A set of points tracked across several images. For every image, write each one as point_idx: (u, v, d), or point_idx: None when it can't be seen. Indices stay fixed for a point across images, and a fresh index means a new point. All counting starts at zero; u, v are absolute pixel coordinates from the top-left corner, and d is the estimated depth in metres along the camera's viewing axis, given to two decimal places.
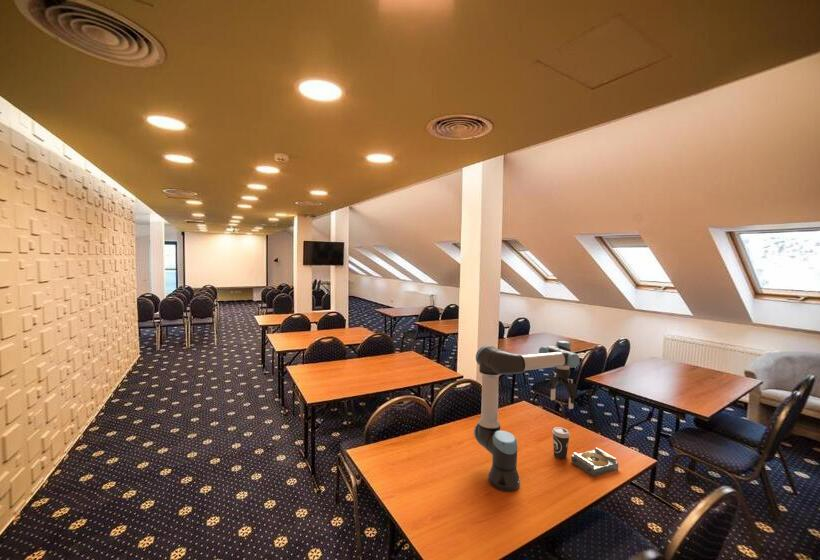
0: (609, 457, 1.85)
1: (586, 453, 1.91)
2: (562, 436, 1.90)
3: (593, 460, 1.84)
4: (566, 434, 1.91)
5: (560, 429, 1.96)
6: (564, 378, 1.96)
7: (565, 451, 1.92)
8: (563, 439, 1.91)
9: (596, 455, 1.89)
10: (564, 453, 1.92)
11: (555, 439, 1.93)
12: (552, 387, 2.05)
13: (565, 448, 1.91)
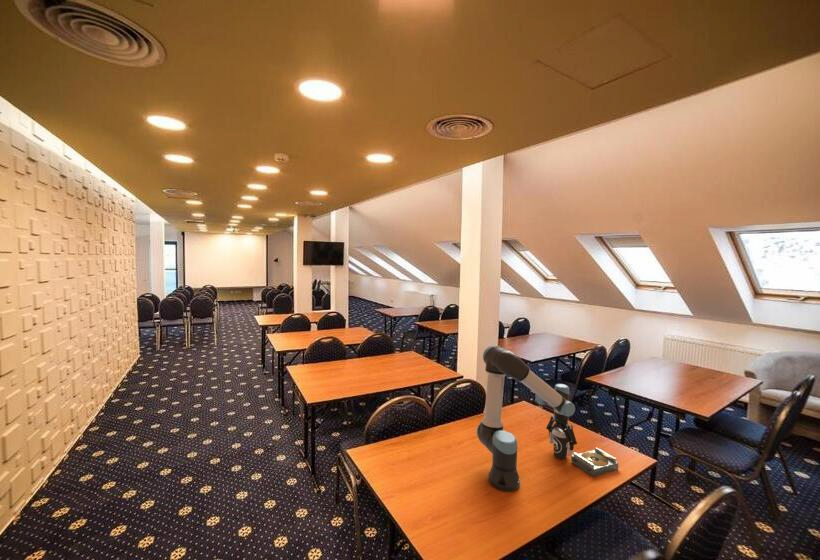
0: (609, 457, 1.85)
1: (586, 453, 1.91)
2: (562, 436, 1.90)
3: (593, 460, 1.84)
4: None
5: (560, 429, 1.96)
6: (563, 423, 1.92)
7: (565, 451, 1.92)
8: (563, 439, 1.91)
9: (596, 455, 1.89)
10: (564, 453, 1.92)
11: (555, 439, 1.93)
12: (551, 430, 2.01)
13: (565, 448, 1.91)
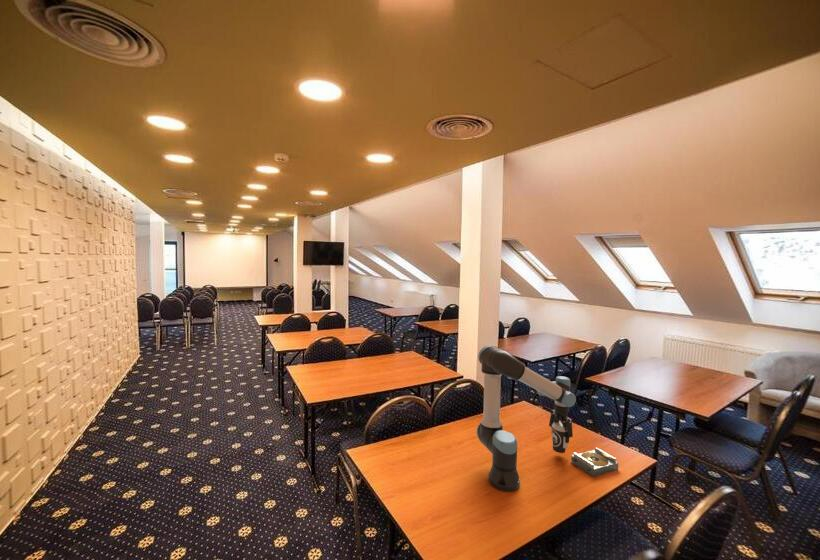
0: (609, 457, 1.85)
1: (586, 453, 1.91)
2: (562, 430, 1.90)
3: (593, 460, 1.84)
4: None
5: (560, 423, 1.96)
6: (563, 415, 1.91)
7: None
8: (563, 433, 1.90)
9: (596, 455, 1.89)
10: None
11: (555, 433, 1.93)
12: None
13: None
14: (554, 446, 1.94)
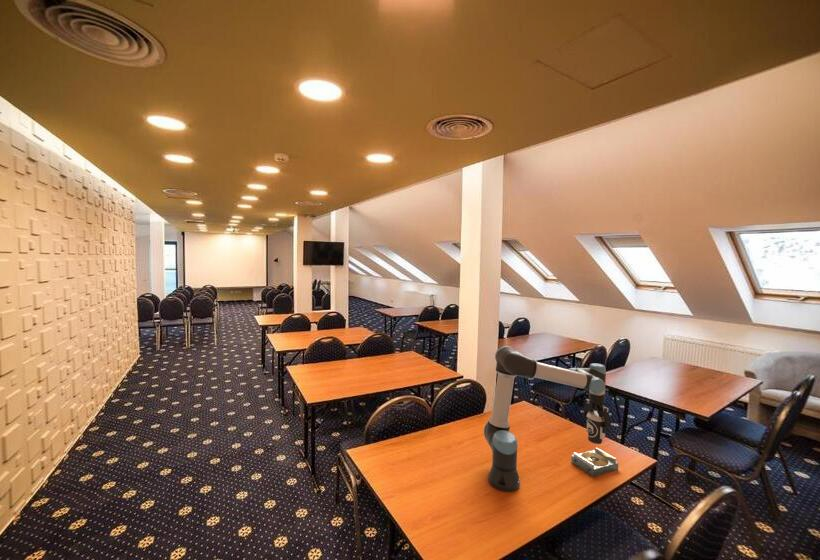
0: (609, 457, 1.85)
1: (586, 453, 1.91)
2: (599, 420, 1.80)
3: (593, 460, 1.84)
4: None
5: (595, 413, 1.86)
6: (599, 404, 1.81)
7: None
8: (600, 423, 1.80)
9: (596, 455, 1.89)
10: None
11: (590, 423, 1.83)
12: None
13: None
14: (590, 437, 1.84)
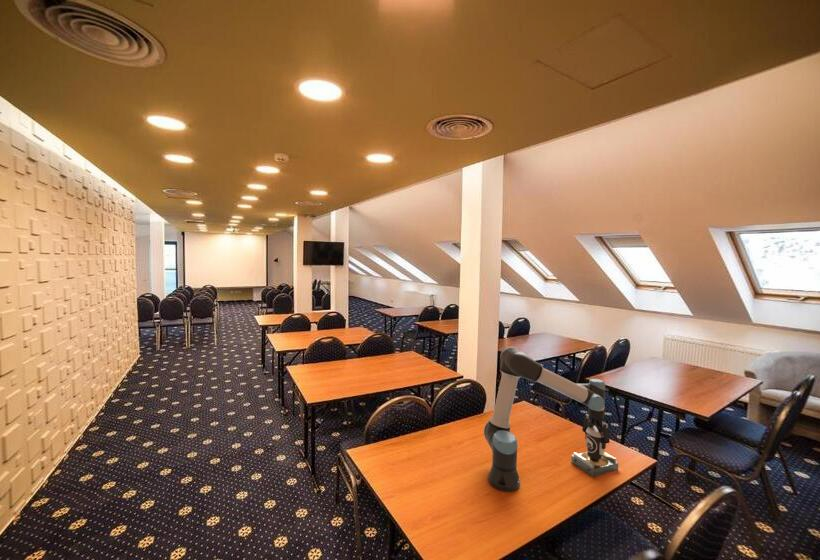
0: (609, 457, 1.85)
1: (586, 453, 1.91)
2: (598, 435, 1.81)
3: (593, 460, 1.84)
4: (602, 433, 1.81)
5: (595, 428, 1.86)
6: (598, 420, 1.82)
7: None
8: (599, 439, 1.81)
9: None
10: None
11: (590, 438, 1.83)
12: None
13: None
14: (589, 452, 1.84)
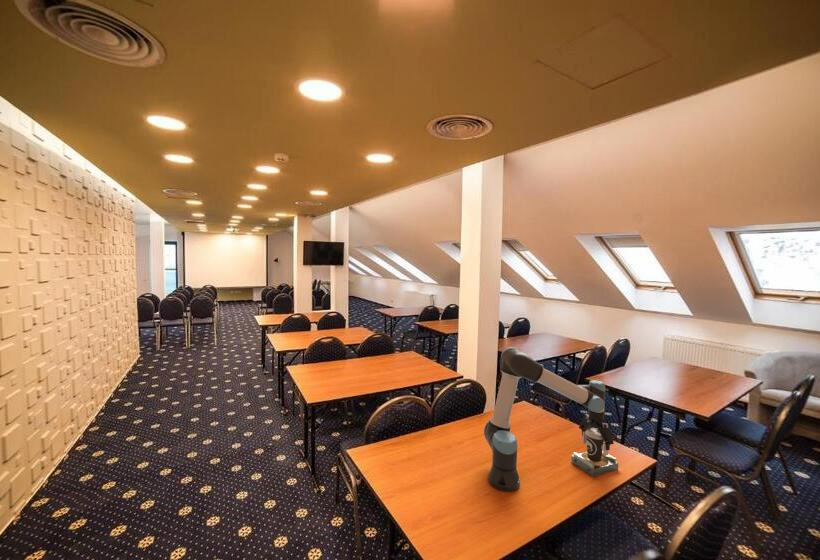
0: (609, 457, 1.85)
1: (586, 453, 1.91)
2: (597, 437, 1.81)
3: None
4: (601, 435, 1.81)
5: (594, 430, 1.87)
6: (598, 421, 1.82)
7: (600, 453, 1.82)
8: (598, 441, 1.81)
9: None
10: (599, 455, 1.82)
11: (589, 440, 1.84)
12: (584, 430, 1.91)
13: (600, 450, 1.82)
14: (589, 454, 1.84)
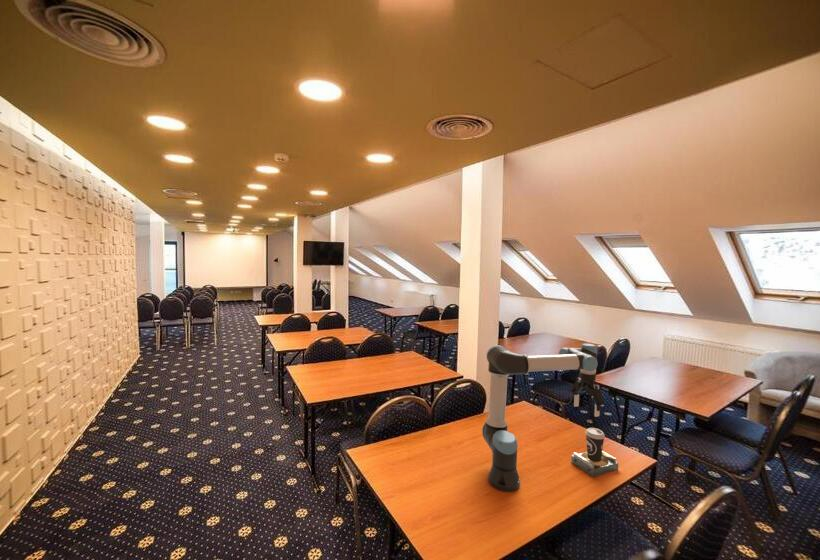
0: (609, 457, 1.85)
1: (586, 453, 1.91)
2: (597, 437, 1.81)
3: None
4: (601, 435, 1.81)
5: (594, 430, 1.87)
6: (590, 384, 1.84)
7: (600, 453, 1.82)
8: (598, 441, 1.81)
9: None
10: (599, 455, 1.82)
11: (589, 440, 1.84)
12: (576, 393, 1.93)
13: (600, 450, 1.82)
14: (589, 455, 1.84)
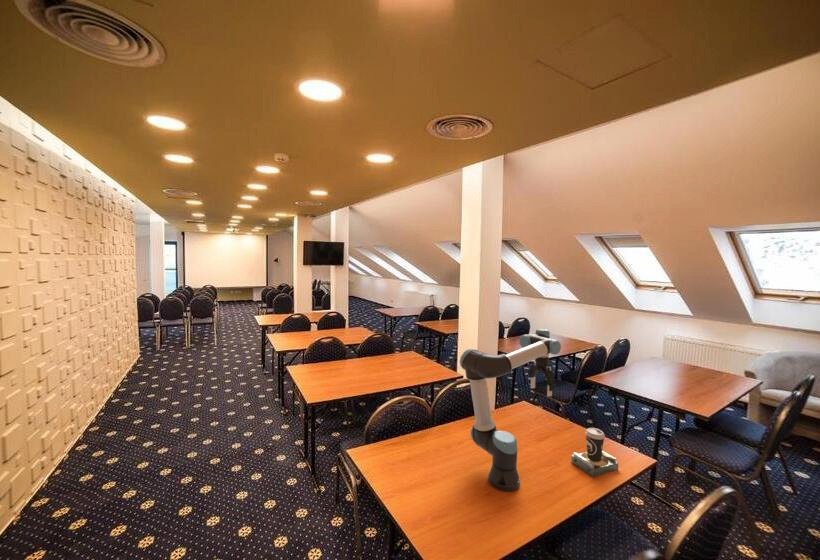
0: (609, 457, 1.85)
1: (586, 453, 1.91)
2: (597, 437, 1.81)
3: None
4: (601, 435, 1.81)
5: (594, 430, 1.87)
6: (543, 366, 1.96)
7: (600, 453, 1.82)
8: (598, 441, 1.81)
9: None
10: (599, 455, 1.82)
11: (589, 440, 1.84)
12: (532, 375, 2.05)
13: (600, 450, 1.82)
14: (589, 455, 1.84)
